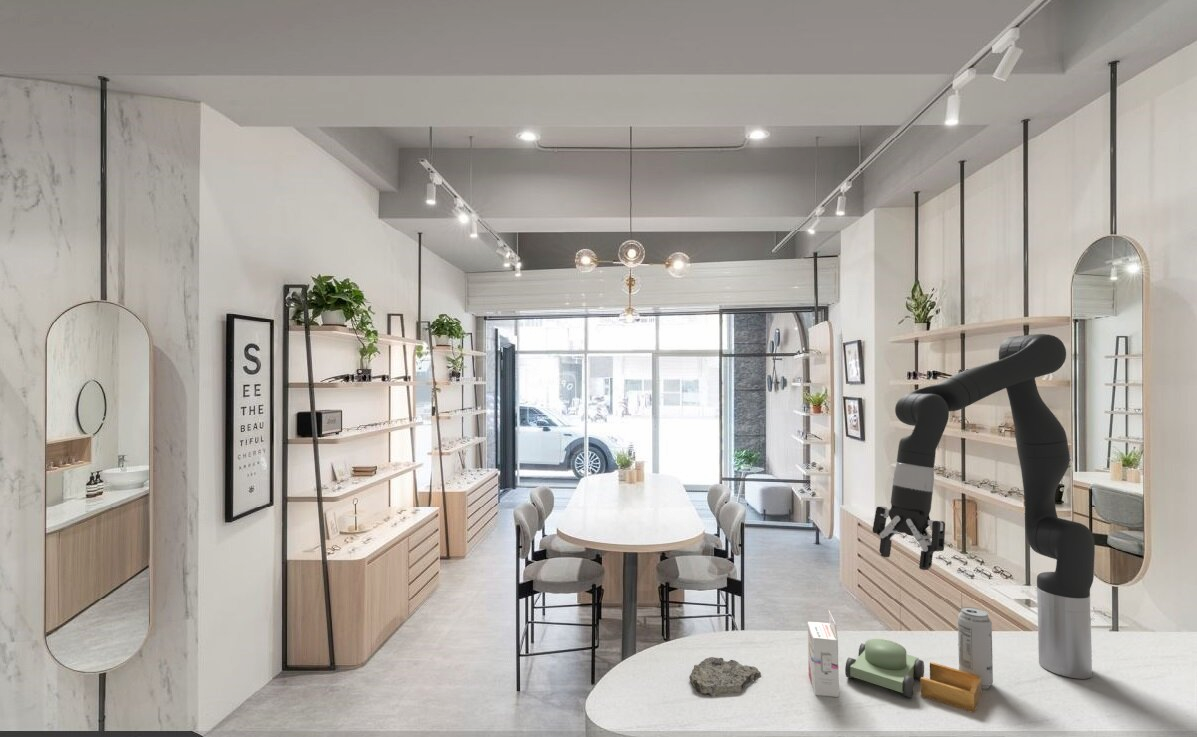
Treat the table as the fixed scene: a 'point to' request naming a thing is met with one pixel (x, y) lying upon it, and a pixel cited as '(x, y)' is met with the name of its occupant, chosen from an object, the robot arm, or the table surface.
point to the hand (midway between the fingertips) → (903, 562)
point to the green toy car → (886, 666)
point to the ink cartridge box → (823, 657)
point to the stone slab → (721, 676)
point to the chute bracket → (952, 687)
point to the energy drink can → (975, 644)
